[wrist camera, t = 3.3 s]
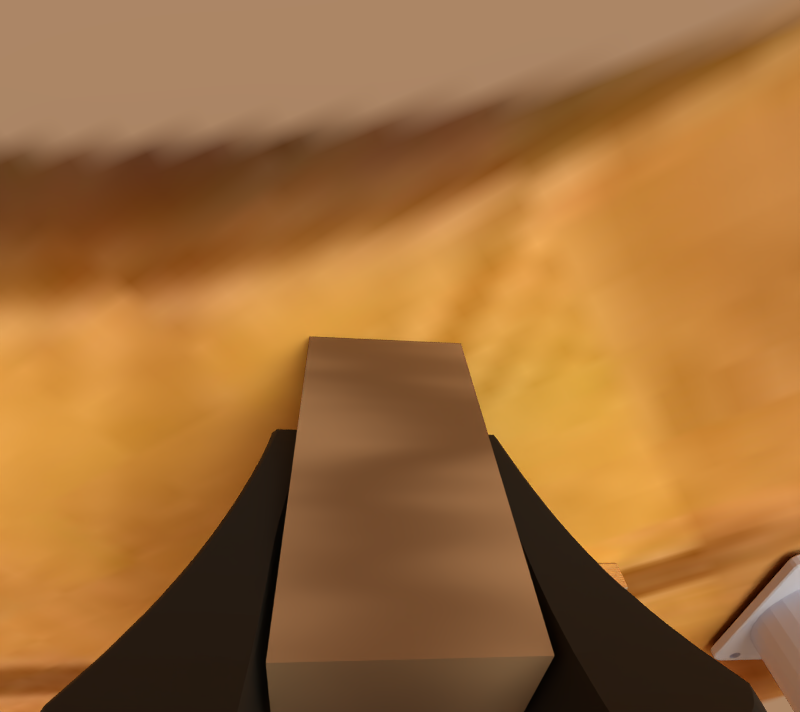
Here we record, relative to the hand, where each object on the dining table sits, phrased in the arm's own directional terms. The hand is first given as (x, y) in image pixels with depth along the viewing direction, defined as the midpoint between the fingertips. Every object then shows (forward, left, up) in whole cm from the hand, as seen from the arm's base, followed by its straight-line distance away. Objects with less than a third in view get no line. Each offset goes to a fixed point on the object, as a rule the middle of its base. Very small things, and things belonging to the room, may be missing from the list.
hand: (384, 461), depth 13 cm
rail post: (0, 0, -2) cm, 2 cm away
